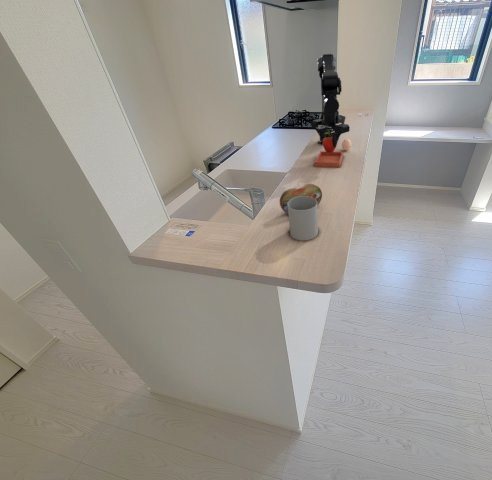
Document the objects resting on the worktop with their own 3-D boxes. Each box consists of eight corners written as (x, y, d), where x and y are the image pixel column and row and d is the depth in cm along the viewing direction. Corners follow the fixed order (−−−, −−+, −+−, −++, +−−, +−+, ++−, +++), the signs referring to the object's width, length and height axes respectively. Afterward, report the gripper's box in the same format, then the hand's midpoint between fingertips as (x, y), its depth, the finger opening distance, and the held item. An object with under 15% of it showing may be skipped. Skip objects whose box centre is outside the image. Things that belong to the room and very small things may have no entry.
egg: (342, 148, 142) (343, 137, 139) (352, 149, 141) (352, 137, 137) (340, 151, 139) (340, 139, 135) (349, 152, 137) (350, 140, 133)
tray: (320, 155, 135) (320, 151, 134) (343, 156, 133) (343, 151, 132) (314, 166, 124) (314, 161, 122) (339, 167, 121) (339, 162, 120)
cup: (318, 225, 83) (318, 196, 78) (317, 240, 77) (316, 210, 71) (292, 224, 84) (289, 196, 78) (288, 240, 78) (285, 210, 72)
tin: (283, 217, 88) (280, 194, 83) (279, 213, 90) (277, 190, 85) (322, 205, 93) (322, 183, 88) (318, 202, 96) (317, 180, 91)
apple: (322, 149, 129) (322, 127, 123) (336, 149, 129) (337, 127, 123) (322, 154, 123) (322, 132, 117) (337, 154, 122) (338, 131, 117)
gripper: (358, 108, 113) (356, 145, 122) (327, 103, 125) (327, 137, 134) (341, 112, 107) (340, 151, 117) (309, 107, 119) (310, 143, 128)
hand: (329, 145), depth 124 cm, fingers closed on apple, 6 cm apart
